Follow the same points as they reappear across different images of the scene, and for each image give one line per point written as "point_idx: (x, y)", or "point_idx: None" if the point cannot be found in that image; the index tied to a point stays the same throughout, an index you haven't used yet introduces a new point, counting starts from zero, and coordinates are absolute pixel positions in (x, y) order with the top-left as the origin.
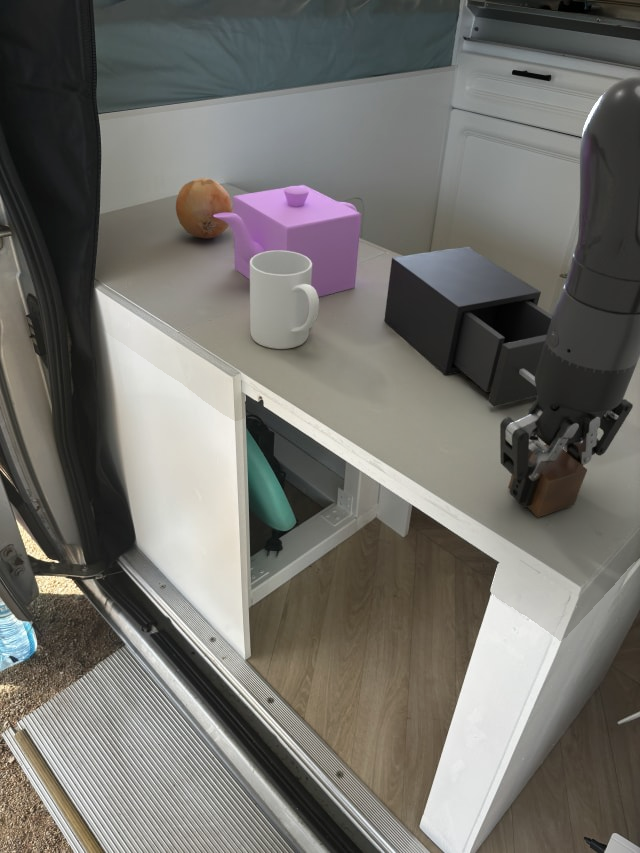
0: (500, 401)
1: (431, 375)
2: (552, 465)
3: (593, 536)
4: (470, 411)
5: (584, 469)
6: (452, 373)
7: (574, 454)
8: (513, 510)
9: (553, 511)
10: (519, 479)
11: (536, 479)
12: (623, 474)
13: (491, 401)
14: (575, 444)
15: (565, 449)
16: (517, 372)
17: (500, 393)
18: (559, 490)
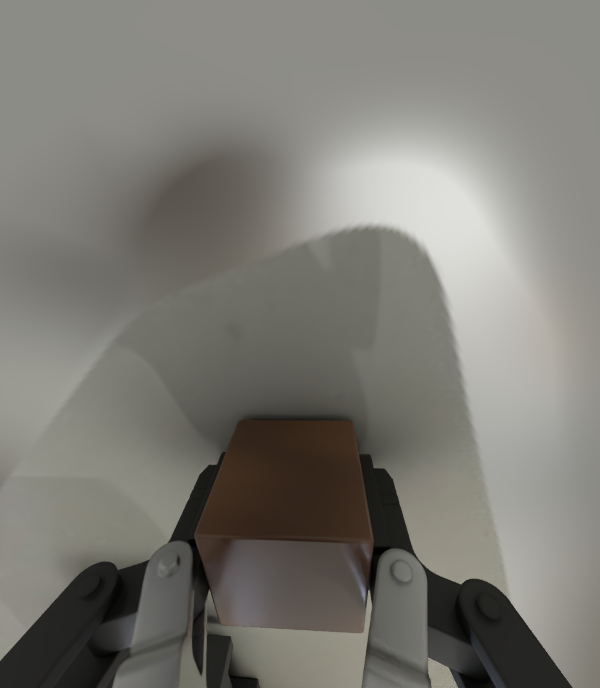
0: (215, 647)
1: (278, 683)
2: (302, 579)
3: (254, 327)
4: (270, 628)
5: (205, 539)
6: (242, 678)
7: (197, 589)
8: (380, 451)
9: (304, 421)
10: (485, 585)
11: (388, 551)
12: (59, 445)
13: (230, 649)
14: (194, 665)
15: (206, 601)
16: None
17: (214, 678)
18: (307, 482)
